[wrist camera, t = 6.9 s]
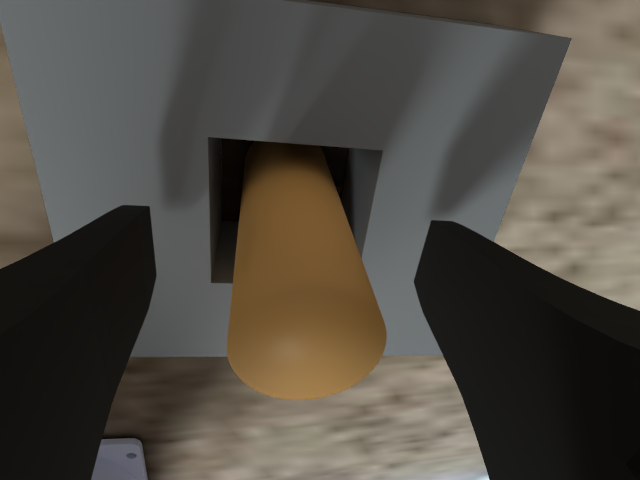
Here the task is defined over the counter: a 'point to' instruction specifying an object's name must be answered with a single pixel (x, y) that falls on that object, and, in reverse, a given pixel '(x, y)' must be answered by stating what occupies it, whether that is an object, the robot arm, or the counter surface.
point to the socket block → (273, 132)
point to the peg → (299, 281)
